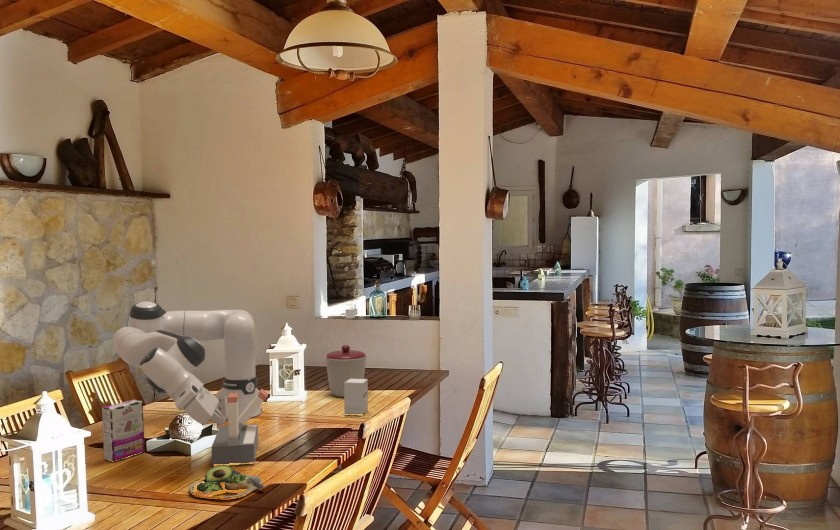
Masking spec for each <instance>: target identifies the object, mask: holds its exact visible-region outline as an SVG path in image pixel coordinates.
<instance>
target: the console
mask: <svg viewBox="0 0 840 530" xmlns="http://www.w3.org/2000/svg"><path fill="white" fill-rule="evenodd" d="M238 426H239V433H238V436H233V437H229V425H222V426H220V425H219V428H218V430H217V432H216V435H215V438H214V440H213V442H212V444H211V466H212V465H214V464H229V463H249V462H254V461H255V462H256V458H255V455H256V456H257V452H256V450H257V451H258V447H257V445H259V424H258V423H255V424H244V426H243V427H242V423H238Z"/></svg>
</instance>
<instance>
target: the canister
mask: <svg viewBox="0 0 840 530" xmlns="http://www.w3.org/2000/svg"><path fill="white" fill-rule="evenodd" d="M323 358H324V359H325V363H326V373H327V380H328V388H329V392H330V393H331V395H332V396H334V397H339V398H344V382H346V381H347V380H349V379H365V370H366V364H367V363H366V359H367V358H368V354H366V353H365V352H363V351H359V350H352V349H351V346H350V345H348V344H344V345H342V346H341V350H335V351H331V352H329V353H327V354H326V355H324V357H323Z"/></svg>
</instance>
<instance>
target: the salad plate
mask: <svg viewBox="0 0 840 530" xmlns="http://www.w3.org/2000/svg"><path fill="white" fill-rule="evenodd" d="M202 481H204V482H205V483H200V482H202ZM221 482H225V484H224V485H225V489H227V490H239V489H247V491H245V492H243V493H241V494H237V495H236V494H234V495H224V496H222V497H224V498H225V497H226V498H231V497H239V496H242V495H244V494H247V493H248V492H250V491H251V490H255V489H257V490H263V489H265V488H266V486H265V485H264V484H262V483H263V482H262V479H261V477H259V476H257V475H250V474H249V475H247V474H244V473H241V472H240V471H238V470H235V469H233V468H232V466H227V465H219V466H216V467H211V468H210V469H208V470H207V471H206V473H205V474H204V479H202V480H200V481H198V482H196V483H194V484H191V486H189V488H188V491H189V490H190V491H191V492H192V493H195V492H194V491H193V488H194V486H195V485H197V484H198V483H200V484H199V485H197V490H199V491H202V492H203V493H211V492H215V491H218V490H223V488H222V486H221V485H220V483H221Z"/></svg>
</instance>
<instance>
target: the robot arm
mask: <svg viewBox="0 0 840 530" xmlns="http://www.w3.org/2000/svg"><path fill="white" fill-rule="evenodd" d="M215 340H224V341H223V342H224V344H223V345H224V371H225V373H224V375H225V376H224V378H221V379H220V380H221V383H222V386H221V389H219V390H218V391H217V392H216V393H215V394H213V393H212V392H211V391H210V390H208V389H207V388H206V387H204V385H205V384H204V383H203V382H202V381H201V380H200V379H198V378H197V377H196V376H195V375H194V374H193V373H192V372H193V371H195V369H197V367H199V366H200V365H201V364H202V363H203V362H204V361H205V358H206V357H205V356H206V348H205V347H204V346H203V345H202V343H201V342H202V341H204V342H206V341H207V342H208V341H215ZM199 341H200V342H199ZM112 346H113V348H114V351H115V352H116V354H117V355H118V356H119V358H120V359H122V360H123V362H125V363H127V364H128V365H130V366H131V367H135V368H140V369H141V370H142V372H143V373H144V374H145V375H146V384H148V385H149V386H151V387H152V388H153V389H154V390H156V391H157V393H158V394H160V395H161V394H167V395H168V397H170V398H171V400H172V401H174V403H175V407H176V408H177V409H178V410H179V411H182V410H183V411H184V413H185V414H187V415H188V417H190V418H191V419H194V421H196V422H197V423H199V424H200V425H202V426H205V425H206V424H207V423H208V422H210V420H211V421H212V422H214V423H217V424H218V425H219V427H220V426H224V425H225V424H226V421H227V420H228V395H229V393H238V417H239V416H240V415H241V414H242V412H243V411H244V410H245V409H246V408H247V406H248V405H249V404H250V403H251V401H252V400H253V399H254V398H255V397H256V395H257V394H258V392H259V391H260V390H259V389H258V388H257V386H258V377H257V375H256V371H257V370H256V325H255V321H254V318H253V315H251V314H250V312H248V311H247V310H243V309H219V310H215V309H214V310H181V309H180V310H170V311H167V310H165V309H163V307H162V306H161V305H160V304H158V303H156V302H154V301H147V300H146V301H145V300H144V301H140V302H136V303H135V304H133V305H131V308H130V312H129V325H128V326H124V327H123V326H122V327H121V328H120V329H119V328H118V330H117V331H116V332H115V333H114V335H113V337H112ZM262 411H263V406H261V405H260V406H259V407H258V409H257V410H256V411H255V412H254V413H253V415H252V416H251V417H250V418H255V417H257V416H260V415H261V413H262Z"/></svg>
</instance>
